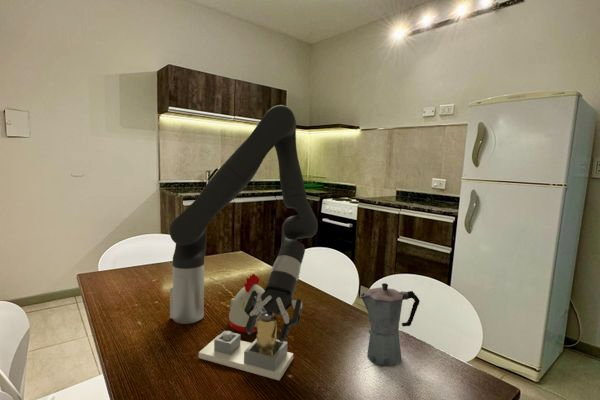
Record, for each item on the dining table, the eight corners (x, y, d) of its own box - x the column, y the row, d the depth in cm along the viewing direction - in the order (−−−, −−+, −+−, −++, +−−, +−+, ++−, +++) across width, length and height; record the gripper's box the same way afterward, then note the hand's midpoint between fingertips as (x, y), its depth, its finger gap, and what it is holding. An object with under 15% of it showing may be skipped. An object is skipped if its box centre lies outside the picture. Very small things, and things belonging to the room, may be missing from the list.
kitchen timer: (219, 326, 98) (220, 278, 97) (243, 307, 111) (244, 265, 109) (260, 336, 93) (262, 286, 92) (280, 316, 106) (282, 271, 104)
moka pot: (352, 346, 90) (356, 276, 88) (405, 346, 92) (411, 277, 89) (361, 368, 81) (366, 290, 78) (421, 367, 82) (428, 291, 80)
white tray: (198, 357, 82) (198, 337, 81) (218, 340, 91) (219, 321, 90) (279, 380, 75) (280, 358, 74) (293, 358, 83) (293, 338, 83)
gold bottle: (252, 360, 79) (253, 317, 78) (261, 350, 84) (262, 308, 83) (270, 365, 78) (272, 320, 77) (278, 354, 82) (280, 312, 81)
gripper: (256, 265, 88) (233, 325, 78) (306, 273, 83) (288, 338, 74) (264, 278, 93) (243, 335, 84) (311, 286, 89) (295, 348, 79)
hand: (264, 337), depth 79 cm, fingers open, 8 cm apart
